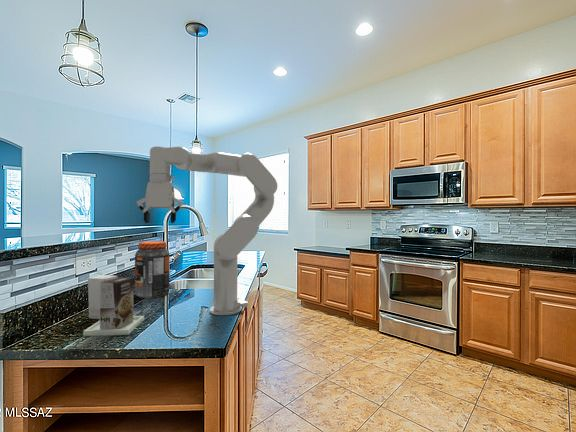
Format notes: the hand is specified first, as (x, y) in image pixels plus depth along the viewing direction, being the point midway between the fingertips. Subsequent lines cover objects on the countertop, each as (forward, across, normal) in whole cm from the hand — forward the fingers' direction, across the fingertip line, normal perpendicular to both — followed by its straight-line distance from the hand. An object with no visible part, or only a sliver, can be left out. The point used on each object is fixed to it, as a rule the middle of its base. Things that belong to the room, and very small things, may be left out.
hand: (160, 222), depth 120 cm
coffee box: (+36, +11, +12) cm, 39 cm away
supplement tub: (+36, +14, -33) cm, 51 cm away
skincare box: (+36, +21, 0) cm, 42 cm away
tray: (+36, +11, +12) cm, 40 cm away
